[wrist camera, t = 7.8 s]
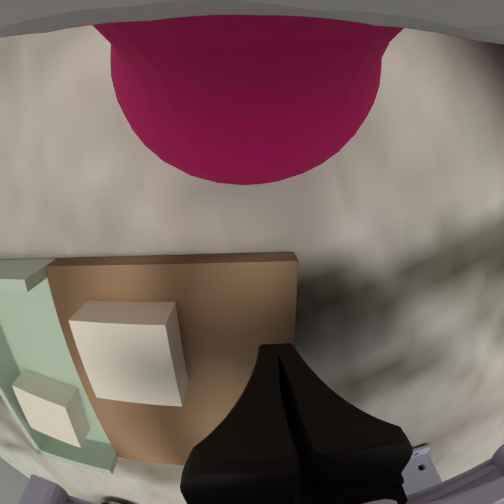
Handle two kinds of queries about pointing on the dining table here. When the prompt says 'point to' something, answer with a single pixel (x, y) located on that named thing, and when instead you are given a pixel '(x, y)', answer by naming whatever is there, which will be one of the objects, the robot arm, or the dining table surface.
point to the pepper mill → (250, 71)
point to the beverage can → (111, 503)
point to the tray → (42, 359)
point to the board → (184, 335)
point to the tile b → (132, 351)
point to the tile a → (52, 407)
